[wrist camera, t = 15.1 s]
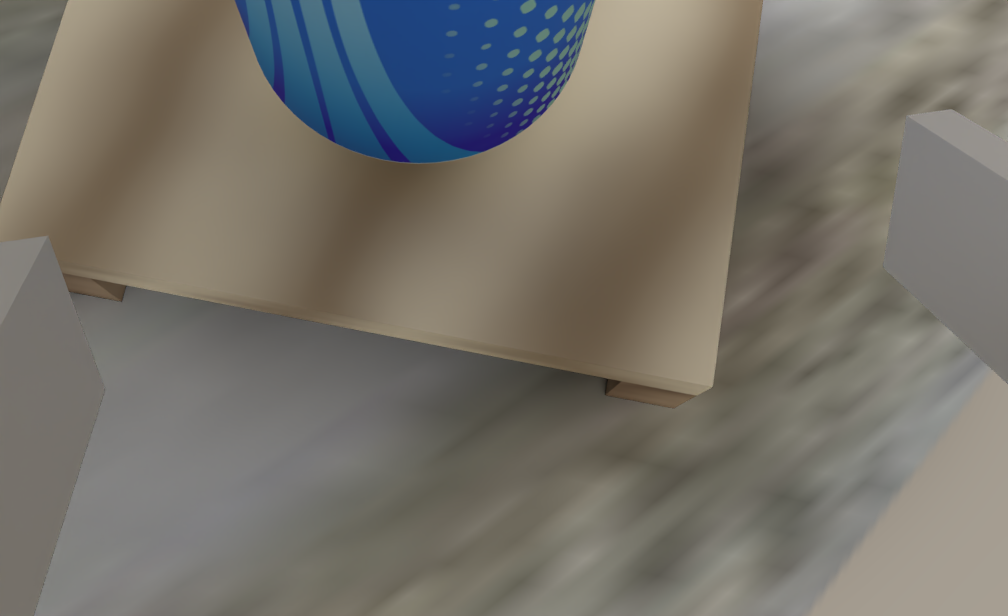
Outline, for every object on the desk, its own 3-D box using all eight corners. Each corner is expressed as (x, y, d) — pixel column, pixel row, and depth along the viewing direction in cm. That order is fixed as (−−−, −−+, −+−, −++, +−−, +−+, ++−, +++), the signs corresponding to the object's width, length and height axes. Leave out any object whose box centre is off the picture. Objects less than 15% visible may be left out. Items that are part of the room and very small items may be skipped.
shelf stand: (51, 288, 27) (-14, 245, 23) (181, -129, 30) (143, -227, 26) (673, 408, 27) (712, 387, 23) (732, -16, 31) (775, -97, 27)
